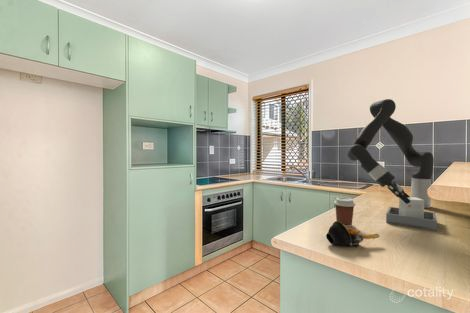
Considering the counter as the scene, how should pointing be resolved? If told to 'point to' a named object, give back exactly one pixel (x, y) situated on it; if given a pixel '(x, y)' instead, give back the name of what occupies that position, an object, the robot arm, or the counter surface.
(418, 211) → the small box
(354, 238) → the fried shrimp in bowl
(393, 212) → the tray
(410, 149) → the robot arm
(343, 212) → the coffee cup
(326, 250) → the counter surface
